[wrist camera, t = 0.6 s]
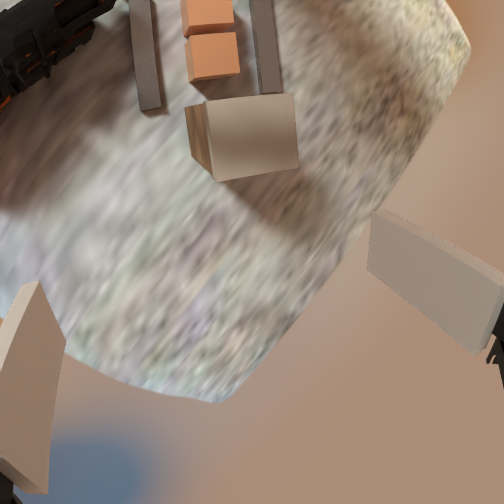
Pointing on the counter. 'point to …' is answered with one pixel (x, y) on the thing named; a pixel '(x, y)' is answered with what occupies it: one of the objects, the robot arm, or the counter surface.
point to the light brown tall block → (244, 135)
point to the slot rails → (146, 53)
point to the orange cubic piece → (212, 56)
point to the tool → (42, 38)
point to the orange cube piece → (206, 16)
